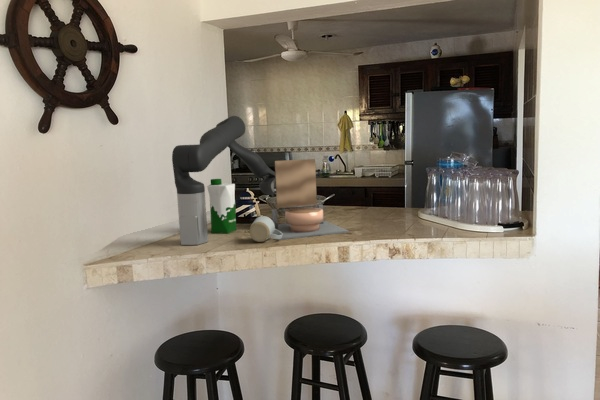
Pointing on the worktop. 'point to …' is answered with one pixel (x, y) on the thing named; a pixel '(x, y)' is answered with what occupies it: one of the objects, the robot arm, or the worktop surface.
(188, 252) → the worktop surface
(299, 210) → the terracotta bowl
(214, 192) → the milk carton
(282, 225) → the slate mat
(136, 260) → the worktop surface
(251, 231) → the ceramic mug
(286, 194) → the cover sheet
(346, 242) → the worktop surface
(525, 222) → the worktop surface
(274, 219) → the hinge posts
